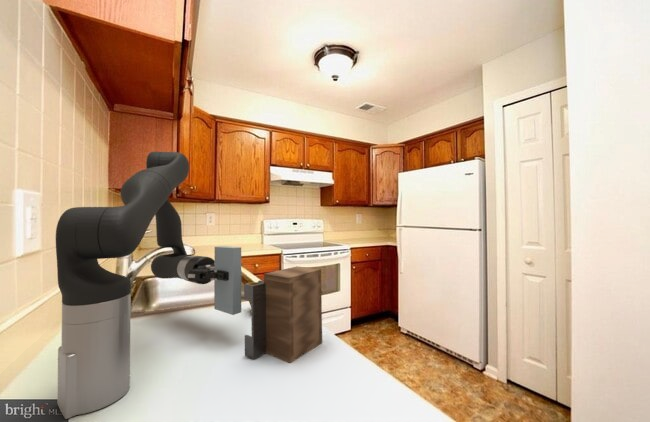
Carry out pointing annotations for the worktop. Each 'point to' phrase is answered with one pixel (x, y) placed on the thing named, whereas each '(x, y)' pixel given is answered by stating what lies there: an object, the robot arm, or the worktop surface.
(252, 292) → the hinge clips
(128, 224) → the robot arm
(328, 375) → the worktop surface
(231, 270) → the door
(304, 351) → the cabinet
